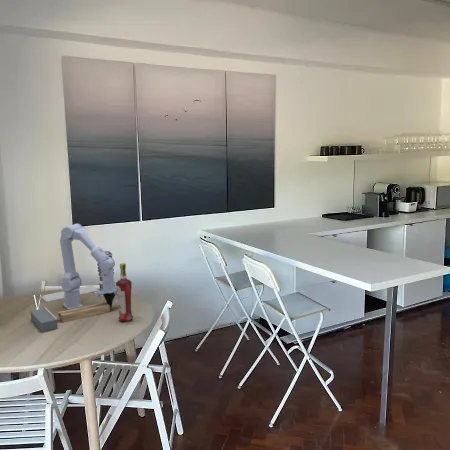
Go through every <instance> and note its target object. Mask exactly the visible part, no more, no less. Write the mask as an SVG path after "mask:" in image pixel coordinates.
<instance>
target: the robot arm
mask: <svg viewBox="0 0 450 450" xmlns="http://www.w3.org/2000/svg"><path fill="white" fill-rule="evenodd" d="M60 233H61V234H60V239H59V243H60V249H61V250H60V251H61V256H62V257H61V258H62V264H63V270H64V275H63V276H62V282H61V288H62V290H63V291H65V292H64V298H63V300H64V303H63V304H62V306H64V308H66V309H67V310H71V309H75V308H80V307H84V305H83V304H82V303H81V295H80V291H79V289H80V288H81V286H82V282H83V281H82V279H81V277H80V272H78V271H77V270H76V264H75V258H74V257H75V255H74V250H73V241H75V240H76V241H80V242H81V243H82V244H83V245H84V246H85V247H86V248H88V250H89V251H90V256H91V257H92V258H93V259H94V260H95V261H96V262H97V264H98V263H99V264H100V265H99V266H98V267H99V268H100V269H101V272H102V283H103V290H99V291H95V292H93V295H94V297H96V298H98V297H99V296H100V295H103V296H104V297H103V298H104V300H105V302H106V303H107V304H109V305H110V309H111V308H112V306H113V302H114V299H115V297H116V293H117V289H116V287H115V286H114V285H115V283H114V282H115V278H114V275H115V274H114V275H113V272H114V271H113V269H114V267H115V266H116V265H115V264H116V263H115V262H116V261H115V260H114V258H113V257H112V258H111V257H108V256H107V255H106V254H105V253H104V252H103V251H104V250H103V248H102V247H100V246H96V245H95V243H94V242H93V241H92V239H91V238H90V237H89V235H88V233H86V230H85V228H84V227H83V226H82V225H81V224H80V223H74V224H71V225H65V226H64V227H63V228H62V229H61V230H60ZM100 297H101V296H100Z"/></svg>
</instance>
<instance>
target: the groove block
mask: <svg viewBox="0 0 450 450" xmlns="http://www.w3.org/2000/svg"><path fill="white" fill-rule="evenodd" d="M56 317H57V316H55V315H54V314H53V313H52V312H51V311H50V310H49V309H48V308H47V307H46V306H44V307H43V308H40V309H34V310H30V319H31V321H32V322H33V324H34V325H35V326H36V327H37V329H38V330H39V331H40V332H41V333H46V332H50V331H54V330H58V323H57V318H56Z"/></svg>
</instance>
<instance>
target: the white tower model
mask: <svg viewBox="0 0 450 450" xmlns="http://www.w3.org/2000/svg"><path fill="white" fill-rule="evenodd" d="M103 252H104V253H105V254H106V255H107V256H108V257H111V258H113V253H112V252H111V251H110V250H109V251H108V250H103ZM99 265H100V264H99V263H98V262H97V272H98V277H99V284H98V285H99V288H98V290H99V291H100V290H103V283H102V272H101V269H100V268H99ZM114 270H115V269H114V268H113V275H115V272H114ZM114 287H116V282H115V281H114ZM100 297H101V298H104V296H103V295H100Z"/></svg>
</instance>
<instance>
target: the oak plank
mask: <svg viewBox="0 0 450 450" xmlns="http://www.w3.org/2000/svg"><path fill="white" fill-rule="evenodd" d="M110 309H111V308H110V305H109V304H107V302H106V301H104V302H100V303H99V302H98V303H95V304H91V305H85V306H83V307H78V308H74V309H69V310H68V309H67V310H62V311H58V312H57V313H58V316H55V317H56V318H57V324H58V323H65V322H66V323H67V322H70V321H71V322H72V321H75V320H79V319H84V318H87V317H92V316H97V315H101V314H107V313H111V310H110Z"/></svg>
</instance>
